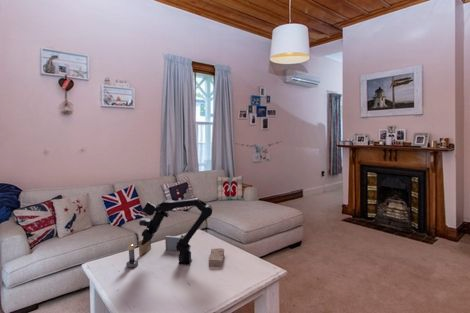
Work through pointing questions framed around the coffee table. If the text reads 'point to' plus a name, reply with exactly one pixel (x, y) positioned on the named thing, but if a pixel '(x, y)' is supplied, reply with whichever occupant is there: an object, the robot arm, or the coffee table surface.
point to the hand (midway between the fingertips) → (144, 241)
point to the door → (144, 247)
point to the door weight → (131, 258)
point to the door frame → (171, 242)
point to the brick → (216, 257)
